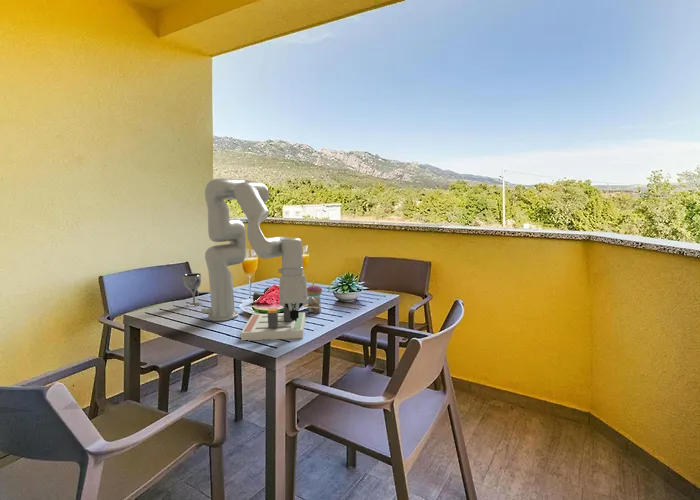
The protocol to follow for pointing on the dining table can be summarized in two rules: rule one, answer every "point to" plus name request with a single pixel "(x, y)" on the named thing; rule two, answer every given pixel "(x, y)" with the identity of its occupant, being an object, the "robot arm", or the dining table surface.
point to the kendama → (257, 295)
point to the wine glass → (192, 284)
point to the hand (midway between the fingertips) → (294, 320)
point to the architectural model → (314, 304)
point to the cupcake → (314, 290)
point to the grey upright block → (272, 317)
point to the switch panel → (285, 329)
